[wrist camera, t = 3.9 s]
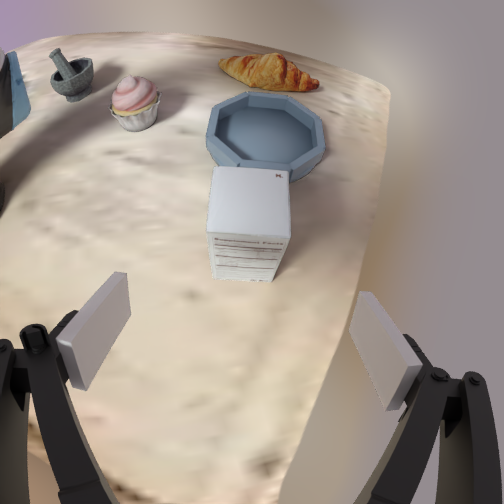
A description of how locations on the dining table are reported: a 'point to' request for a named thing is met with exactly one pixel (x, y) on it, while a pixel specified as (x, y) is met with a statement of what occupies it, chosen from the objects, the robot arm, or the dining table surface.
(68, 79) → the mortar and pestle
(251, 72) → the croissant
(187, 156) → the dining table surface
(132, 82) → the cupcake
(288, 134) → the octagonal dish
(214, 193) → the supplement box
